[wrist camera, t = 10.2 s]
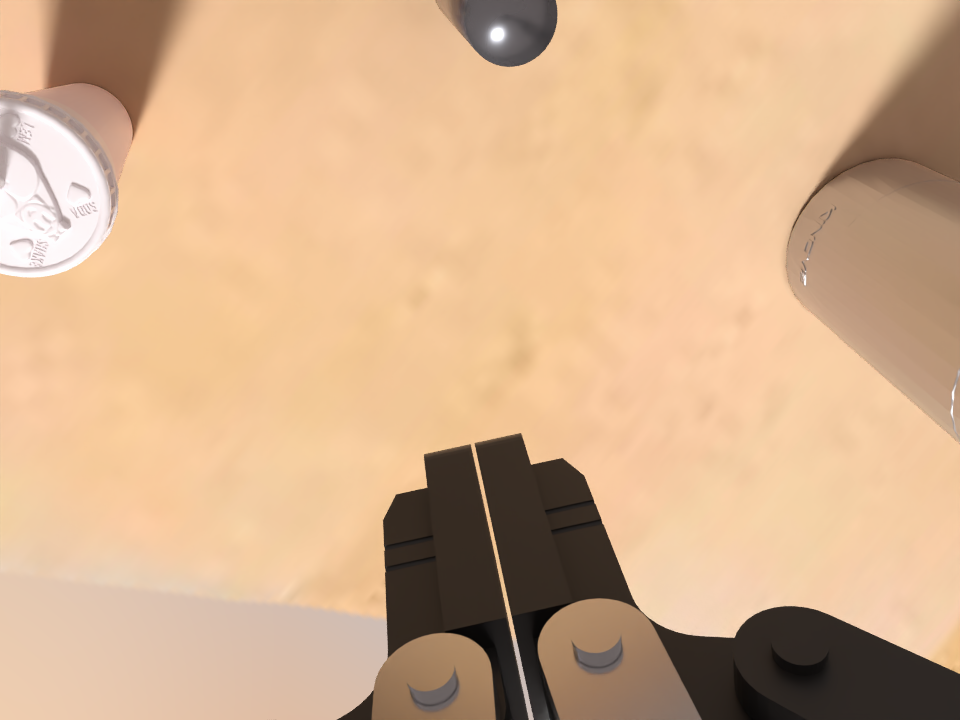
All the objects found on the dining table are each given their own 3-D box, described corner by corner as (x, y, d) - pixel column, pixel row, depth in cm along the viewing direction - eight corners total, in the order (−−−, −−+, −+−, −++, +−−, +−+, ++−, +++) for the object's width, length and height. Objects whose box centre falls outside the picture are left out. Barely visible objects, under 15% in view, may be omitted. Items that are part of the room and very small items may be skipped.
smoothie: (74, 16, 35) (-73, 76, 23) (196, 132, 38) (123, 242, 25) (-24, 120, 36) (-213, 230, 24) (101, 225, 39) (-12, 371, 27)
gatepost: (508, -44, 36) (566, -24, 26) (494, 30, 37) (545, 74, 28) (439, -58, 35) (473, -44, 26) (428, 17, 37) (457, 57, 27)
